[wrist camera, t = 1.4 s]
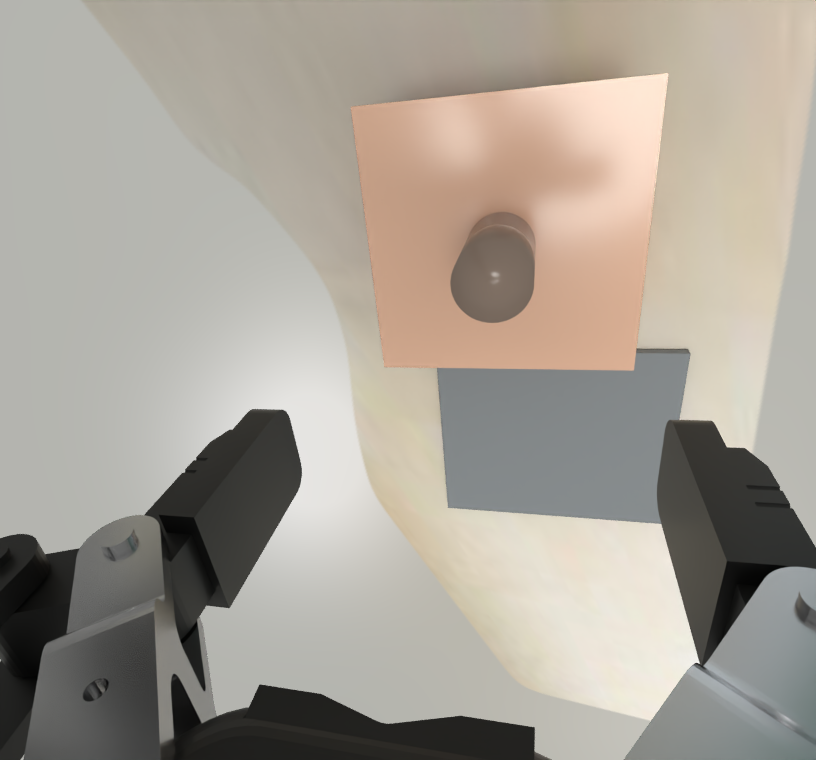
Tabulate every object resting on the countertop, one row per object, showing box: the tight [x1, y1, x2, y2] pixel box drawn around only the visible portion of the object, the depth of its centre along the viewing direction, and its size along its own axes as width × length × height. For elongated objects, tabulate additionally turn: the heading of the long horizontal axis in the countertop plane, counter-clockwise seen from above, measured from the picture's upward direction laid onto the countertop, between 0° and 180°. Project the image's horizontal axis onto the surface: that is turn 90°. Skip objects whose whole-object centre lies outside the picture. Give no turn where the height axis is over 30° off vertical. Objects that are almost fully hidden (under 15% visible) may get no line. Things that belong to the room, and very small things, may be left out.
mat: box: [437, 349, 690, 524], centre depth 38 cm, size 16×14×1 cm
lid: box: [351, 73, 668, 371], centre depth 23 cm, size 13×13×6 cm
